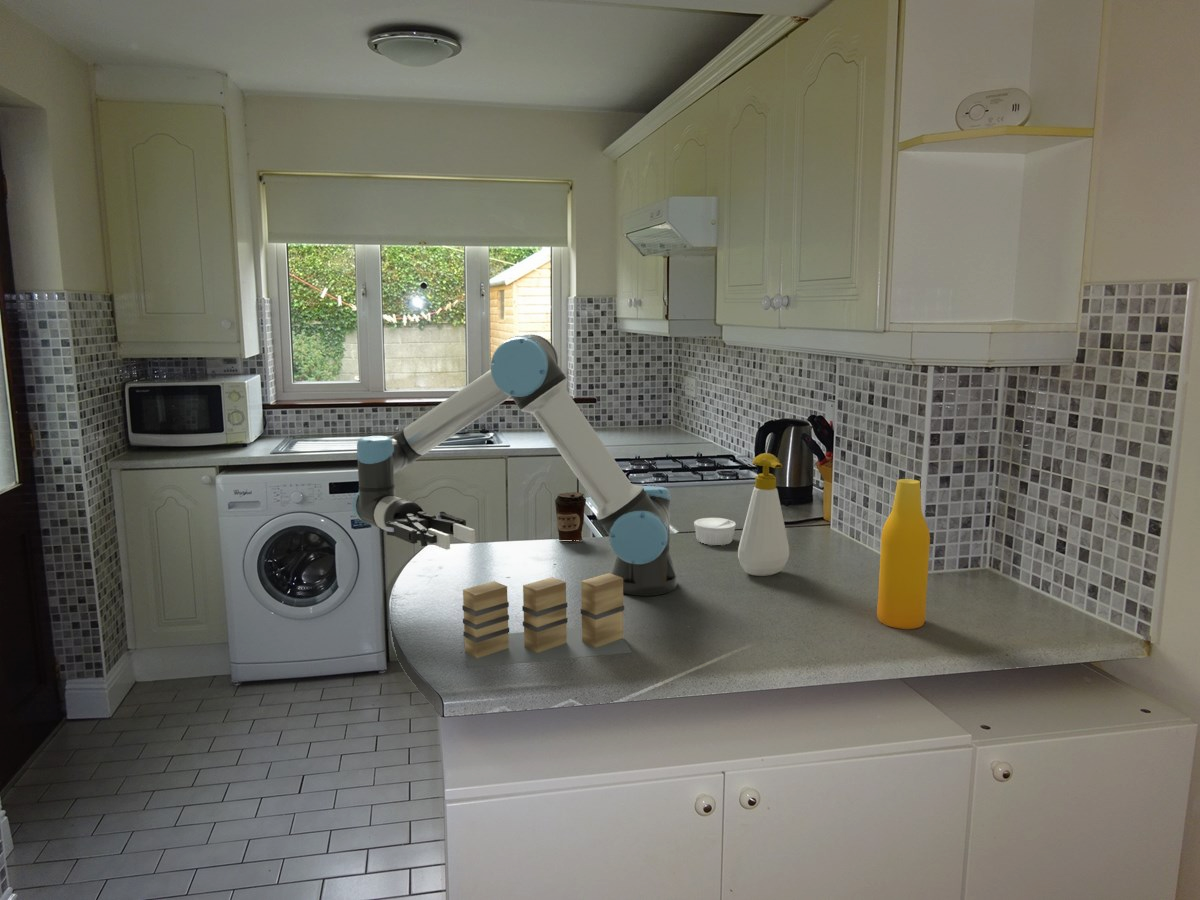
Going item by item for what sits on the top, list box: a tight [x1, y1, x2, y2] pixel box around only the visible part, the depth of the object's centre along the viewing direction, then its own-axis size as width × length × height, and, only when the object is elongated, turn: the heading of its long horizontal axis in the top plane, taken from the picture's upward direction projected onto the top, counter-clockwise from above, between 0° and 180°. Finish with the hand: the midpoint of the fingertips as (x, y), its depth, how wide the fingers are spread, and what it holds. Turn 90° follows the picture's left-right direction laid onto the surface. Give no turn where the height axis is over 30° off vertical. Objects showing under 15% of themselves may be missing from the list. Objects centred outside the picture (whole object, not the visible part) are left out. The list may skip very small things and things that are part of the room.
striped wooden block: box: [462, 580, 510, 658], centre depth 157 cm, size 4×7×12 cm, turn 132°
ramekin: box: [693, 517, 737, 546], centre depth 229 cm, size 11×11×5 cm
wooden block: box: [521, 576, 569, 653], centre depth 159 cm, size 4×7×12 cm, turn 132°
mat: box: [463, 626, 632, 668], centre depth 160 cm, size 30×14×1 cm, turn 102°
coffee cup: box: [554, 491, 587, 544], centre depth 230 cm, size 9×8×13 cm
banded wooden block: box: [580, 572, 625, 648], centre depth 161 cm, size 4×7×12 cm, turn 132°
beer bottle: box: [876, 478, 931, 630], centre depth 169 cm, size 9×9×29 cm
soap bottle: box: [737, 452, 790, 577], centre depth 199 cm, size 13×10×29 cm
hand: (460, 539), depth 160 cm, fingers open, 5 cm apart
